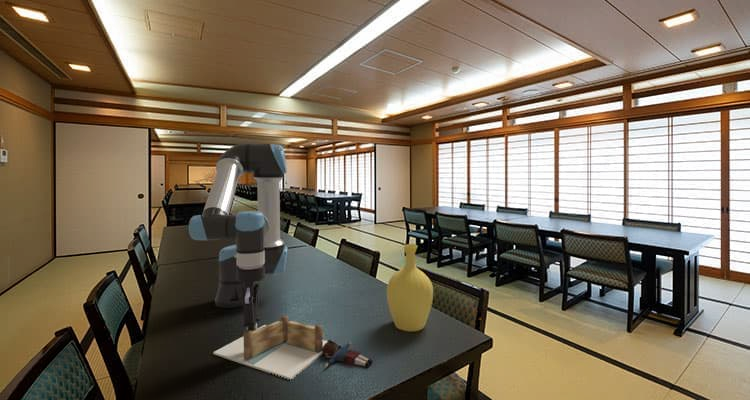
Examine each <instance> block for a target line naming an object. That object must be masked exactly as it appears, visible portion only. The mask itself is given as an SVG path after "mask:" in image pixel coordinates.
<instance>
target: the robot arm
mask: <svg viewBox="0 0 750 400" xmlns="http://www.w3.org/2000/svg"><path fill="white" fill-rule="evenodd" d="M285 154H286V153H285V149H284V147H283V146H282V145H280V144H275V143H274V144H273V143H244V142H243V143H239V144H235V145H233V146H231V147H230V148H228V149H227V150H226V151H224V153H222V154H221V156H219V158H218V159H217V163H216V165H215V170H216V174H215V177H214V180H213V183H212V185H211V188H210V191H209V195H208V197H207V200H206V202H205V205H204V208H203V211H202V214H198V215H193V216H192V217H191V218H190V219H189V223H188V233H189V236H190V238H191V239H193V240H194V241H220V240H221V241H222V240H223V241H224V240H225V241H226V240H231V241H232V240H235V244H232V245H228V246H226V247H223V248H221V250H220V251H219V254H218V267H219V268H218V272H219V286H218V289H217V292H216V296H215V298H214V305H215V306H216V307H218V308H222V309H232V308H233V309H234V308H239V307H242V310H243V327H245V328H246V330H252V331H255V330H257V329H258V322H260V321H261V319H260V318H259V301H260V300H259V298H260V296H259V294H260V285H261V284H260V283H259V281H262V280H263V279H265V276H275V275H282V274H284V272H285V269H286V264H287V256H288V246H286V245H285V242H284V240H283V239H281V207H280V206H281V204H280V203H281V201H280V197H281V195H280V193H281V192H280V181H282V179H284V175H286V174H287V173H288V170H287V169H288V168H287V160H286V155H285ZM247 173H248V174H252V175H253V176H252V179H254V180H255V182H257V183H256V184H257V185H256V187H257V210H246V211H245V210H244V211H239V212H237V213H236V214H235V215H234V214H232V215H231V214H230V211H231V208H232V204H233V201H234V196H235V193H236V189H237V186H238V182H239V179H240V178H241V177H242V176H243V175H244V174H247ZM246 330H245V331H246Z"/></svg>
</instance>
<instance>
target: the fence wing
mask: <svg viewBox="0 0 750 400" xmlns="http://www.w3.org/2000/svg"><path fill="white" fill-rule="evenodd" d="M288 322H289V315H282V316H280V320H279V319H278V320H277V321H275V322H273V323H270V324H266V325H267V326H265V327H262V326H261V327H262V328H260V327H259V328H260V329H258V328H257V330H255V331H252V330H244V331H243V336H244V359H251V358H252V357H253V356H255V355H257V354H259V353H261V352H263V351H265V350H268V349H270V348H272V347H274V346H276V345H278V344H280V343H282V342H285V341H288Z"/></svg>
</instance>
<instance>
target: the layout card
mask: <svg viewBox="0 0 750 400" xmlns="http://www.w3.org/2000/svg"><path fill="white" fill-rule="evenodd" d="M267 325H268V324H263V325H262V326H260V327H257V329H260V328H262V327H265V326H267ZM327 341H328V340H326V339H325V340H324V339H323V346H324V344H325V343H327ZM212 354H213V355H215V356H218V357H221V358H224V359H227V360H229V361H232V362H236V363H238V364H241V365H245V366H247V367H250V368H253V369H256V370H260V371H262V372H266V373H268V374H271V373H272V375H274V374H275V375H274V376H277V375H278V376H277V377H280V376H281V377H280V378H283V377H284V378H283V379H286V378H287V379H286V380H289V379H290V380H289V381H291V379H292V380H293V379H294V378H295V377H296V375H297V374H298V375H299V374H301V372H302V370H303V371H304V370H305V369H306V368H308V367H309V366H310V365H312V363H314V362H315V361H317V359H319V358H320V357H321V356H322V355H323V353H322V351H321V352H316V351H314V350H311V349H307V348H303V347H300V346H296V345H293V344H289V343H288V341H285V342H282V343H280V344H278V345H276V346H274V347H272V348H270V349H268V350H265V351H263V352H261V353H259V354H257V355H255V356H253V357H252V358H251V359H244V335H243V336H241V337H239V338H237V339H235V340H233V341H232V342H230V343H228V344H226V345H224V346H222V347H221V348H219V349H217V350H215V351H213V353H212ZM298 375H297V376H298Z"/></svg>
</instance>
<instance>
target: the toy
mask: <svg viewBox="0 0 750 400" xmlns="http://www.w3.org/2000/svg"><path fill="white" fill-rule="evenodd" d="M326 341H327V343H325V344H324V346H323V348H322V353H323V354H322V355H323V356H324V357H325V358H329V360H328V361H327V363H325V365H324V366H325V368H327V367H328V366H329V365H331V364H333V363H335V362H337V361H338V362H342V363H346V364H348V365H352V366H355V365H358V366H364V367H366V368H367V369H368V368H370V366H371V365H372V364H373V359H371V358H367V357H365V356H364V355H362V354H361V352H360V351H356V350H354V349H353V350H352V349H348V348H349V347H350V346H351V344H352V342H351V341H350V342H349V343H347V344H345V345H344V346H342V345H339V344H337V342H335V341H334V340H331V339H327V340H326Z"/></svg>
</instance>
